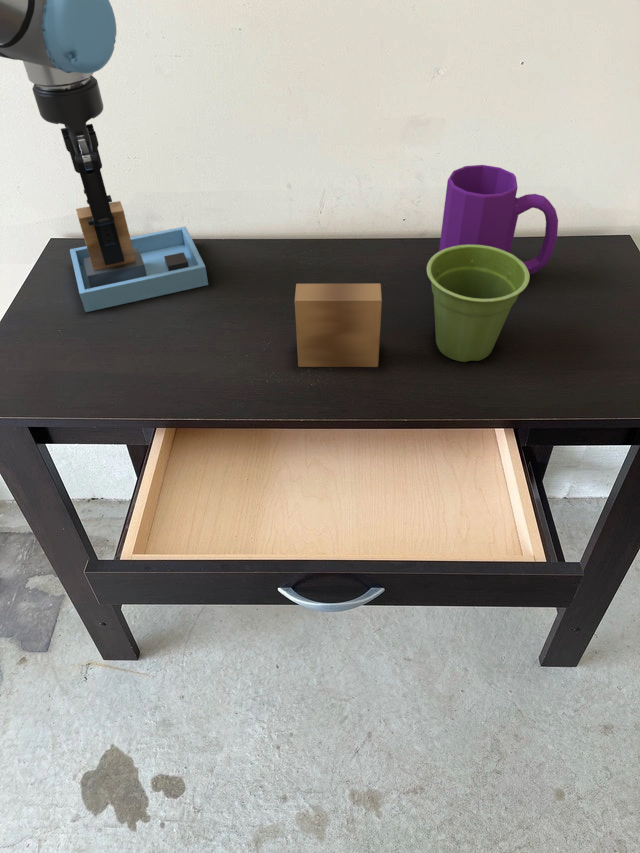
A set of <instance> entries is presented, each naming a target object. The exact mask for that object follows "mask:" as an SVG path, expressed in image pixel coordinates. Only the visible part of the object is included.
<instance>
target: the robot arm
mask: <svg viewBox="0 0 640 853" xmlns="http://www.w3.org/2000/svg"><path fill="white" fill-rule="evenodd" d="M117 32H118V30H117V22H116V16H115V13H114V8H113V7H112V4H111V1H110V0H0V58H3V59H4V58H5V59H8V60H9V59H10V60H13V61H14V60H15V61H16V60H17V61H22V64H23V66H24V69H25V72H26V75H27V79H28V81H29V82H30V83H31V84H33V86H32V93H33V96H34V99H35V103H36V106H37V109H38V112H39V115H40V117H41V119H43V120H44V121H46V122H48V123H50V124H54V125H58V124H60V125H64V127H62V128H60V132H61V135H62V138H63V142H64V145H65V146H64V147H65V149H66V151H67V152H68V153H69V155H70V157H71V163H72V164H73V169H74V171H75V173H77V174H79V175H80V179H81V180H80V181H81V182H82V187H83V193H84V195H85V196H86V204H87V205H88V207H89V206H90V210H91V213H92V216H93V217H92V219H89V220H88V224H89V226H90V225H94V228H95V231H96V234H97V238H98V241H99V245H100V248H101V252H102V255H103V259H104V262H105V265H110V264H115V263H120V262H124V257H123V253H122V249H121V245H120V242H119V238H118V234H117V230H116V227H115V223H114V216H113V215H112V213H111V209H110V205H109V203H112V202H113V199H112V196H111V194H107V190H106V187H105V183H104V179H103V176H102V175H103V174H102V171H101V169H102V168H103V162H102V159H101V156H100V152H99V145H100V144H99V140H98V137H97V133H96V131H95V129H94V125H93V123H88V124H87V122H89V121H90V120H91V119H95V118H97V117H99V116H100V115H101V114H102V113H103V111H104V103H103V102H104V101H103V99H102V94H101V91H100V86H99V82H98V79H97V78H96V77H95V76H94V74H95V73H96V72H98V71H100V70H102V69H103V68H104V67H105V66H107V64H108V63H109V61H110V60H111V58H112V56H113V54H114V51H115V44H116V41H117V40H116V38H117Z"/></svg>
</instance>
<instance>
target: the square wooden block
mask: <svg viewBox="0 0 640 853" xmlns="http://www.w3.org/2000/svg"><path fill="white" fill-rule="evenodd" d="M382 305H383V295H382V284H381V283H379V282H378V283H377V282H376V283H375V282H374V283H373V282H372V283H367V282H366V283H296V284H295V294H294V312H295V330H296V348H297V365H298V367H299V368H378V367H379V360H380V358H379V357H380V341H381V340H380V339H381V326H382V325H381V324H382V323H381V322H382Z"/></svg>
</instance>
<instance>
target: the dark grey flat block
mask: <svg viewBox="0 0 640 853" xmlns="http://www.w3.org/2000/svg"><path fill="white" fill-rule="evenodd" d="M164 259H165V263H166V265H167V267H168V270H169V271H174V270H178V269H183V268H187V267H189V265H188V261H187V259H186V257H185V254H184V252H183V253H178V254H173V255H168V256H164Z"/></svg>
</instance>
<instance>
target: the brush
mask: <svg viewBox="0 0 640 853" xmlns="http://www.w3.org/2000/svg"><path fill="white" fill-rule="evenodd" d="M121 202H122V201H120V200H117V201H112V202H109V205H110V209H111V213H112V215H113V216H114V223H115V227H116V230H117V234H118V238H119V242H120V245H121V249H122V253H123V257H124V262H120V263H115V264H110V265H105V262H104V259H103V255H102V252H101V248H100V245H99V241H98V238H97V234H96V231H95V228H94V225H90V226H89V224H88V220H89V219H92V217H93V216H92V213H91V210H90V206H89V205H88V206H84V207H78V208H75V211H76V215H77V219H78V223H79V225H80V229H81V232H82V236H83V239H84V243H85V246H87V250H88V253H89V256H90V257H88V258H83V260H84V264H85V268H86V272H87V276H88V279H89V283H90V286H91V288H93V287H97V286H102V285H107V284H112V283H117V282H122V281H126V280H131V279H136V278H141V277H146V276H147V274H146V270H145V265H144V262H143V260H142V257H141V254H140V251H139V249H138V248H134V249H133V247H132V243H131V239H130V237H131V235H130V231H129V227H128V223H127V219H126V214H125V210H124V208H123V205H122V203H121Z"/></svg>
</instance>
